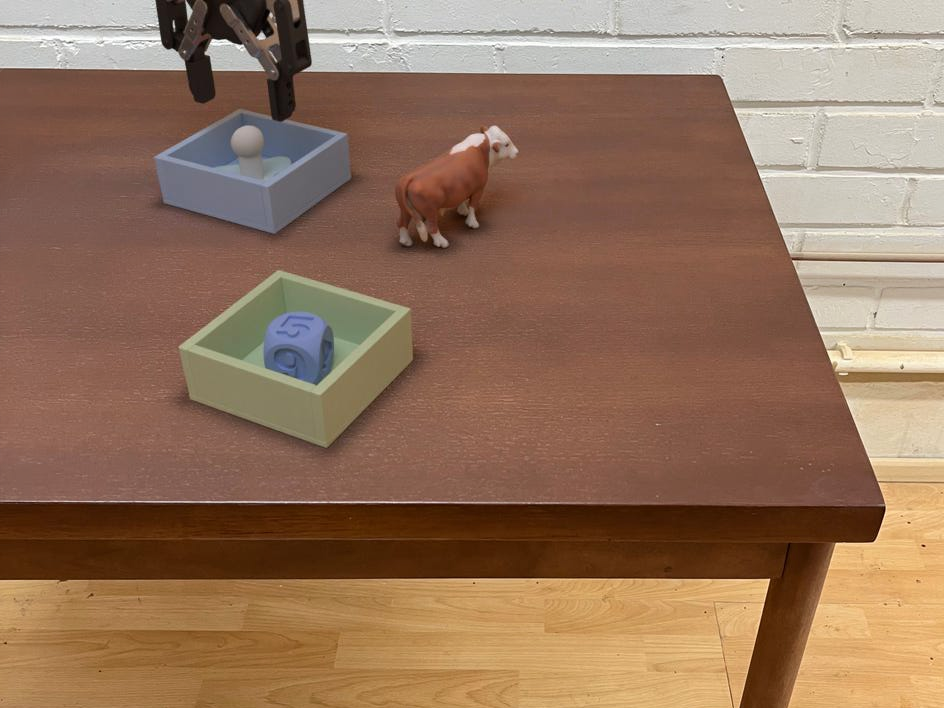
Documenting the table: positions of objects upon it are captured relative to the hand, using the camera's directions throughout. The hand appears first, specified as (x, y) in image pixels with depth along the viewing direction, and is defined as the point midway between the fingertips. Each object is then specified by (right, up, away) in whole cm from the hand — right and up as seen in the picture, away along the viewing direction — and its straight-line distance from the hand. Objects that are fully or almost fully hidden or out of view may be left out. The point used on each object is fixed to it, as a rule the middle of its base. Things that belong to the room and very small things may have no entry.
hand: (243, 109), depth 90 cm
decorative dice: (+8, -26, -17) cm, 32 cm away
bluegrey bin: (0, -6, +6) cm, 8 cm away
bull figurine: (+19, -11, 0) cm, 22 cm away
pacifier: (0, -5, +5) cm, 8 cm away
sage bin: (+8, -26, -17) cm, 32 cm away
